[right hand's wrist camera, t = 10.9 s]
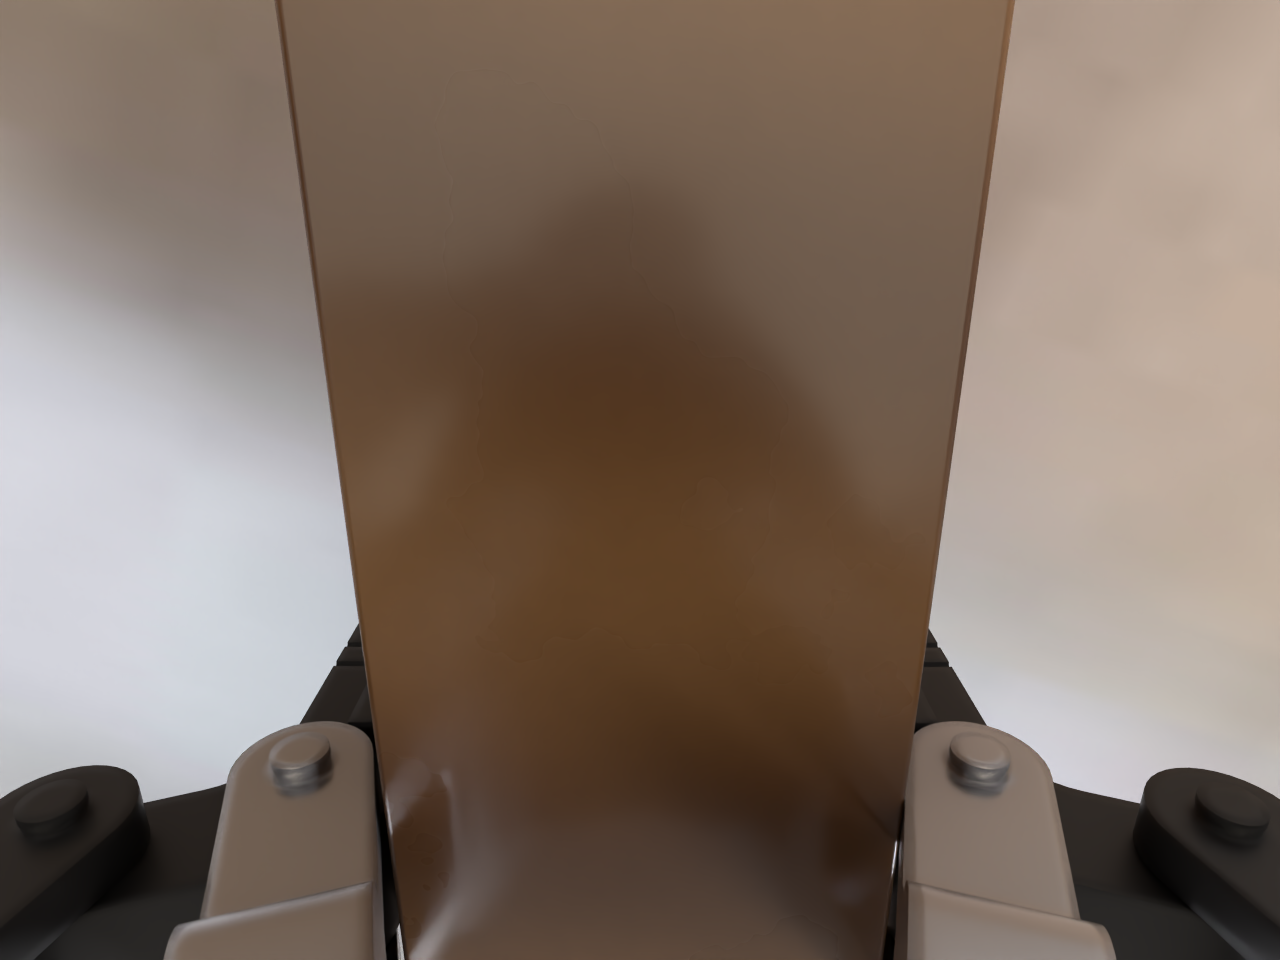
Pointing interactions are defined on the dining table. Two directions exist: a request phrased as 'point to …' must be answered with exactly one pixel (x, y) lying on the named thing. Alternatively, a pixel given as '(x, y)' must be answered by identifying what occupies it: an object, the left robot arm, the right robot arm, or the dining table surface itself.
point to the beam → (644, 445)
